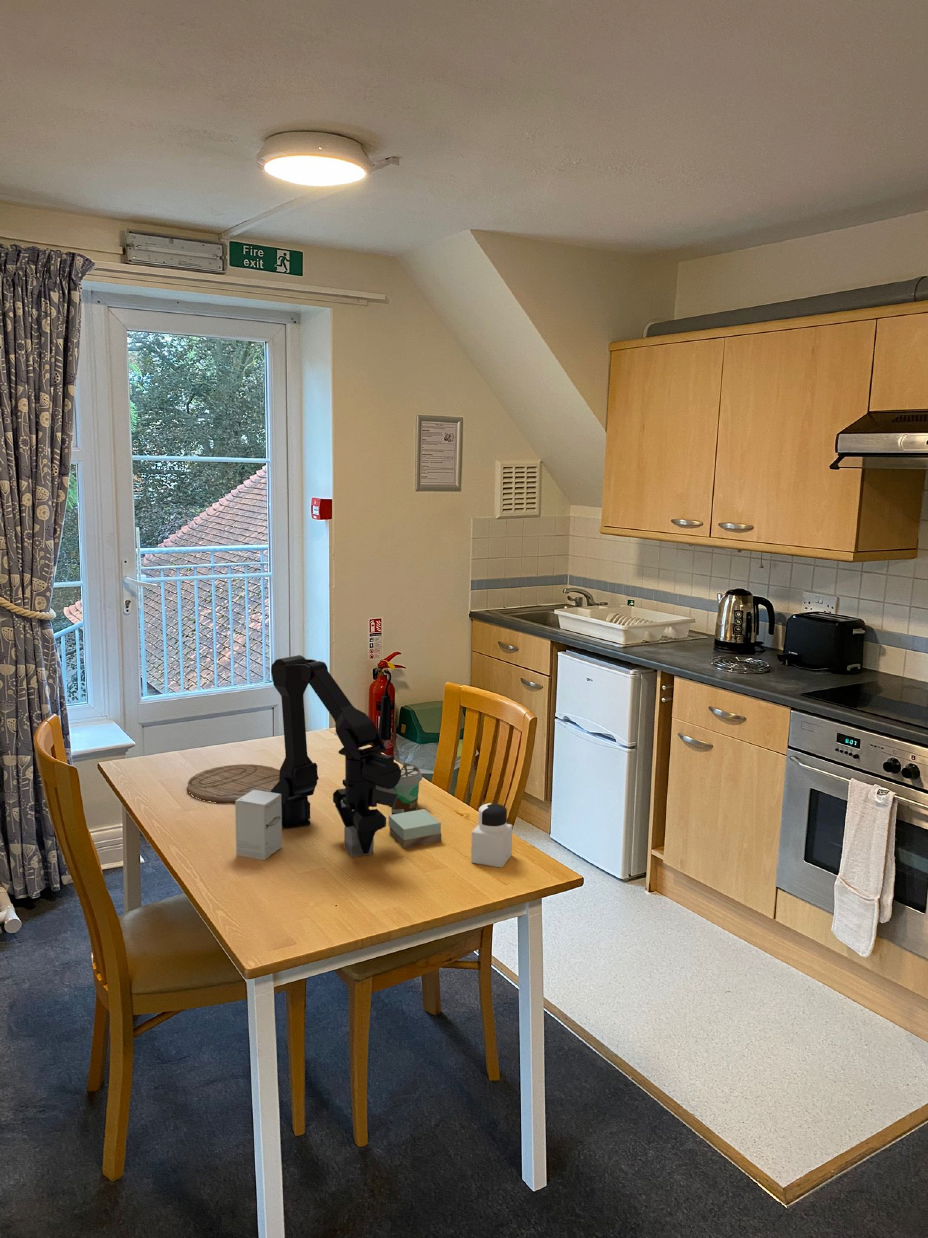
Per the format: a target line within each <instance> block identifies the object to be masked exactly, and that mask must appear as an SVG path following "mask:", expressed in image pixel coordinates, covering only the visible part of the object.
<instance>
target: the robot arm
mask: <svg viewBox="0 0 928 1238" xmlns="http://www.w3.org/2000/svg"><path fill="white" fill-rule="evenodd" d="M270 672H271V677H272V678H271V679H272V683H273V687H274V688H275V690H276V691H277V692H278V694H280V697H281V709H282V712H281V713H282V722H283V724H282V726H283V738H284V739H283V740H284V752H285V756H284V759H283V762H282V763H281V766H280V769H279V770H280V775H279V782H278V783H277V784H276V785H275V786H274V788H273V789H272V790H271V792H272V793H278V794H281V813H282V829H291V828H296V827H297V828H298V827H303V826H309V825H311V821H310V819H311V802H310V801H309V799H308V798H309V796H313V795H314V793H315V790H316V787H317V786H318V785H317V784H318V780H319V775H318V764H317V763H316V762H313V761H312V760H311V758H310V756H308V745H307V744H308V743H307V742H308V741H307V731H306V729H307V728H306V714H305V701H304V699H305V698H304V696H305V695H304V694H305V693H306V690H307V688H308V685H310V687H311V688H312V689H313V692H314V693H315V694H316V695H317V697H318V698H319V700H320V701H321V703H322V704H323V706H324V707H325V709H326V710H327V712H328V713H329V714H330V716H331V717H332V719H333V721H334V723H335V733H336V735H337V737H338V739H339V741H340V743H341V745H342V746H343V747H342V748H340V749H339V750H338V754H339V755H342V756H345V764H344V767H345V769H344V771H345V773H344V774H345V775H344V776H345V778H344V779H342V785H343V788H339V789H335V791H334V792H333V794H332V802H333V803H334V804H335V808H336V811H337V813H338V815H339V816H340V818H341V820H342V824H343V826H344V827H350V826H353V827H354V830H355V833H356V836H357V838H358V841H359V844H360V846H361V849H362V852H363V854H367V853H369V850H370V846H371V843H372V840H373V837H374V836H375V834H376V833H377V831H379V830H382V829H384V828H386V827H387V817H386V816H385V815H384V814H383V813H382V812H381V811H380V810H379V809H378V808H376V807H377V806H378V805H383V806H388V807H389V808H391V807H392V808H393V807H394V805H395V802H396V799H397V796H398V793H397V792H396V791H395V790H394V789H392V788H394V787H395V786H396V785H397V784H398V782H399V780H400V777H401V768H400V767H401V766H400V765H399V764H398V763H397V762H395V757H394V756H393V755H389V754H388V755H387V754H385V753H386V752H387V748H386V745H385V742H384V740H383V738H382V737H381V735H380V733H379V731H378V729H377V726H376V723H375V722H374V721H373V720H372V719H371V718H370V717H369V716H368V715H367V714H366V713H365V712H363V711H362V710H360V709H357V708H356V707H355V706H354V705H353V704H352V702H351V701H350V699H348V697H347V696H346V694H345V693H344V692H343V690H342V689H341V687H340V686H339V684H338V683H337V681H336V680H335V678H333V676H332V675H331V673H330V672H329V669H328V665H327V664H326V663H325V662H324V661H321V660H316V659H313V658H312V659H310V658H308V659H307V658H306V657H304V656H303V655H300V654H298V655H293V656H289V657H287V656H286V657H283V658H276V659H275V660H274V662H273V663H272V664H271V669H270ZM369 745H372V746H369ZM367 746H368V747H367ZM363 747H365V748H363ZM383 753H384V754H383ZM344 787H345V788H344ZM370 808H373V809H370Z"/></svg>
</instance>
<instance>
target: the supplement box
mask: <svg viewBox="0 0 928 1238" xmlns="http://www.w3.org/2000/svg"><path fill="white" fill-rule="evenodd" d="M234 805H235V807H234V809H235V850H236V851H235V852H236V853H235V854H236V856H240V857H245V858H249V859H255V860H260V861H265V860H267V859H268V858H269V857H270V856H271V855H273V854H274V853H276V852H277V851H279V850H280V849H281V848H283V838H282V837H283V831H282V829H283V827H282V813H281V794H278V793H272V792H265V791H258V790H252V791H251V792H249V793H247V794H246V795H244V796H242V797H241V798H239V799H237V800H236V801H235V804H234Z"/></svg>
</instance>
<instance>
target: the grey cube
mask: <svg viewBox="0 0 928 1238" xmlns="http://www.w3.org/2000/svg"><path fill="white" fill-rule="evenodd" d="M343 831H344V834H343V835H344V836H343V837H344V839H343V840H344V843H343V844H344V850H345V851H346V852H347V854H349V856H350V857H351V858H356V857H361V856H368V855H374V853H375V850H374V848H375V847H374V844H375V842H374V841H375V839H374V837H373V840H372V843H371V846H370V850H369V853H367V854H363V852H362V849H361V846H360V844H359V841H358V838H357V836H356V833H355V830H354V827H353V826H350V827H345V826H344V830H343Z"/></svg>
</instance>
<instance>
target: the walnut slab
mask: <svg viewBox="0 0 928 1238" xmlns="http://www.w3.org/2000/svg"><path fill="white" fill-rule="evenodd" d="M389 834H390V835H391V837H393V838H394V839H395V840H396V841H397V843H399V845H400V846H401V847H403V849H407V848H413V847H418V846H425V845H430V844H435V843H441V842H442V832H441V833H440V834H434V835H429V836H424V837H418V838H413V839H408V840H403V839H402V838H401V837H400V836H399V835H398V834H397V833H396V832H395V831H394V830H393V829H392V828H391V827H389ZM424 844H425V845H424Z"/></svg>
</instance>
